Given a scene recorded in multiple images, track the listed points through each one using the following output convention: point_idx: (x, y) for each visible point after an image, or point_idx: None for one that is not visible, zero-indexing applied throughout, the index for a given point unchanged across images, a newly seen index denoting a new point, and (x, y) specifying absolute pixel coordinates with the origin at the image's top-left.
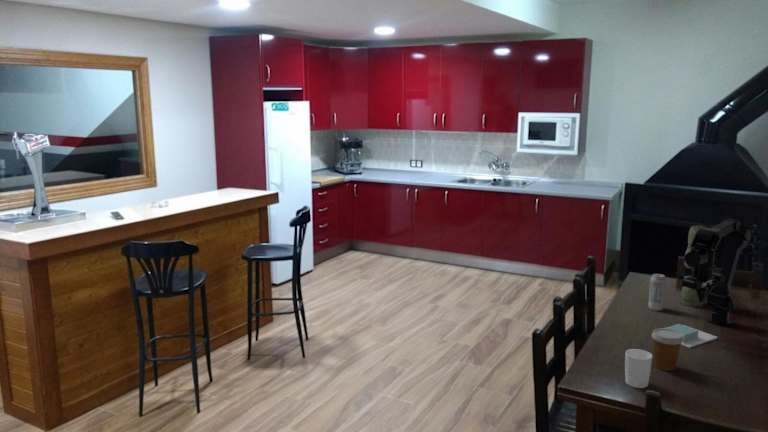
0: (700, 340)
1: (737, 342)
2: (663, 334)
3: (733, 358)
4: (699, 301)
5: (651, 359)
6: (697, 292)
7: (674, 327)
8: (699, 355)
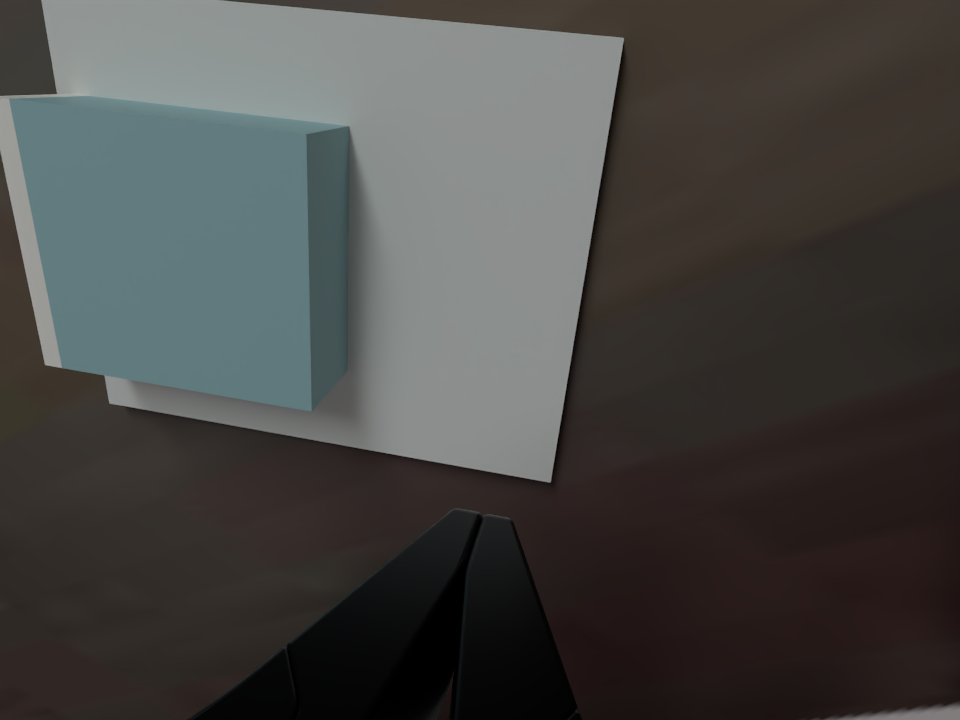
0: (317, 410)
1: (601, 608)
2: None
3: (259, 657)
4: (456, 509)
5: None
6: (237, 707)
7: (137, 174)
8: (82, 498)
